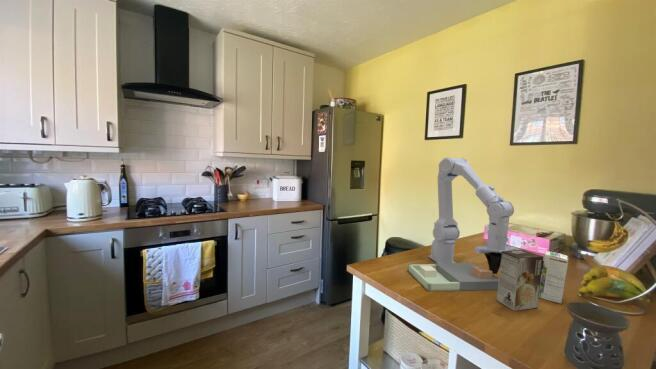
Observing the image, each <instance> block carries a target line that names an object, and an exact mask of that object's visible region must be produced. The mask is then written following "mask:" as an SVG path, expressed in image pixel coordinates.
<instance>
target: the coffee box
mask: <svg viewBox="0 0 656 369" xmlns="http://www.w3.org/2000/svg"><path fill="white" fill-rule="evenodd" d="M543 261H544V256H543V255H541V254H537V253H534V252H533V251H528V250H526V249H517V250H512V251H502V253H501V263H500V268H499V271H498V272H499V274H498V278H499V282H498V290H497V292H496V302H497V301H498V302H499V303H501V304H503V305H504V306H505V307H507V308H508V309H510V310H512V311H514V312H515V311H522V310H529V309H530V310H531V309H536V308H538V306H539V299H540V298H539V291H540V284H541V276H542V265H543Z"/></svg>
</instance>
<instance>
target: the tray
mask: <svg viewBox="0 0 656 369" xmlns="http://www.w3.org/2000/svg"><path fill="white" fill-rule="evenodd" d="M419 266H432V267H433V268H434V269H436V265H435V263H434V264H433V263H431V264H429V263H428V264H427V263H426V264H425V263H424V264H418V263H417V264H408V266H407V271H408V273H409V274H410V275H411V276H412V277H413V278H414V279H415V280H416V281H418V282H419V284H421V286H422V287H424V289H425V290H426V291H427V292H445V291H446V292H448V291H449V292H453V291H456V292H457V291H459V288H460V283H459V282H450V281H449V280H447V279H446V278H445V277H444V276H442V275H441V274H440V273H439V272H437V276H436V277H424V276H423V275H422V274H421V273H419Z"/></svg>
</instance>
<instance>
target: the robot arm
mask: <svg viewBox="0 0 656 369" xmlns="http://www.w3.org/2000/svg"><path fill="white" fill-rule="evenodd" d="M459 176H461V177H463V178H464V179H465V180H466V181H467V182H468V184H469V185H470V186H472V187H473V188H474V190H475V196H476V197H477V198H478V199H479V200H480V202H481V203H482V204H483V205H484V206H485V207H486V213H487V215H488V221H489V222H488V223H489V224H488V231H487V232H488V233H487V239H486V245H480V246H474V247H475V248H474V252H475V253H476V254H478V255H480V254H484V256H485V258H486V260H487V261H486V262H487V265H488V269H489V270H491V271H492V274H493V275H498V272H499V271H500V263H501V253H502V251H512V250H518V249H517V247H514V246H507V242H508V241H507V240H508V233H509V232H508V231H509V224H510V217H512V216H513V215H514V212H515V207H514V205H513V204H512V202H511V201H509V200H505V199H504V197H503V196H501V195H500V194H499V193H498V192H497V191H496V190H495V187H494V185H490V184H485V183H484V182H483V180H482V179H481V178H480V177H479V176H478V174H477V173H476V172H475V170H474V169H473V167H471V163H470V162H468V160H467V159H465V158H464V157H462V158H461V157H460V158H457V157H456V158H455V157H450V156H449V157H444V158H443V159H442V160H441V161H440V162H439V163H438V174H437V198H438V200H437V201H438V204H437V205H438V219H437V220H436V221H435V222H434V223H433V225H434V226H433V230H432V236H433V240H432V242H431V249H430V255H428V258H429V259H432V260H433V262H435V263H457V262H456V261H454V253H455V242H457V240H458V239H459V237H460V235H461V234H460V233H461V232H460V229H459V226H458V222H457V221H456V220H455V219H454V210H453V209H454V208H453V206H454V205H453V203H454V202H453V185H452V183H453V181H454V180H455V178H458V177H459Z"/></svg>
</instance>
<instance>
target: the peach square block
mask: <svg viewBox="0 0 656 369" xmlns="http://www.w3.org/2000/svg"><path fill="white" fill-rule="evenodd" d="M471 273H472V274H474V275H475V276H477V277H478V278H480V279H481V278H492V274H493V273H492V271H491V270H489V268H487V267H486V266H484V265H477V266H472V271H471Z"/></svg>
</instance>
